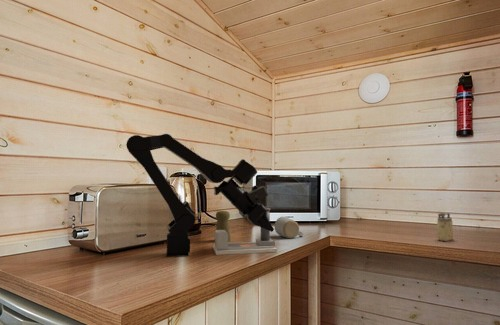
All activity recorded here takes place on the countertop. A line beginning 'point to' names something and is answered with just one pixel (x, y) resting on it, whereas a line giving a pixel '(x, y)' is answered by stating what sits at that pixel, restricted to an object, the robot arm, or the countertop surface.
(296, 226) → the ceramic mug
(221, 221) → the cork
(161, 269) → the countertop surface
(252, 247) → the press base
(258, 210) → the robot arm
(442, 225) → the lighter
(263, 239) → the press handle
